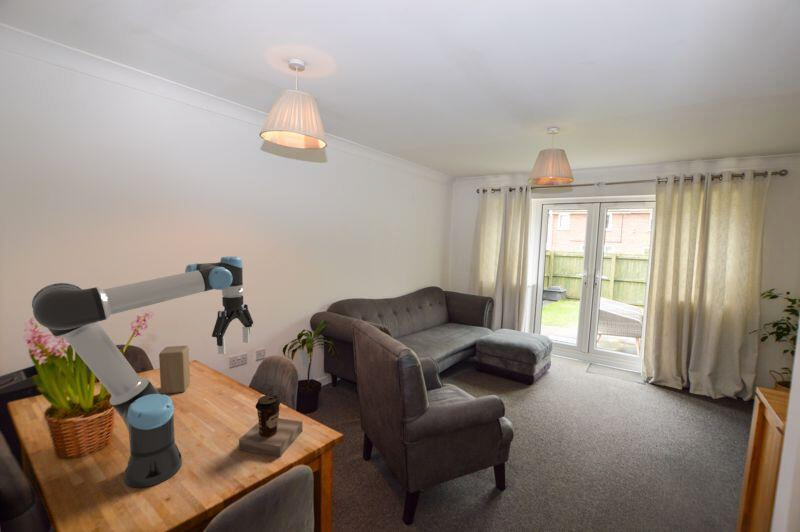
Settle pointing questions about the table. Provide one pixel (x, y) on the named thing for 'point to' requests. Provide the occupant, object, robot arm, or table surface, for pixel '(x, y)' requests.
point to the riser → (271, 438)
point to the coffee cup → (268, 415)
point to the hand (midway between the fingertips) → (234, 347)
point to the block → (174, 369)
